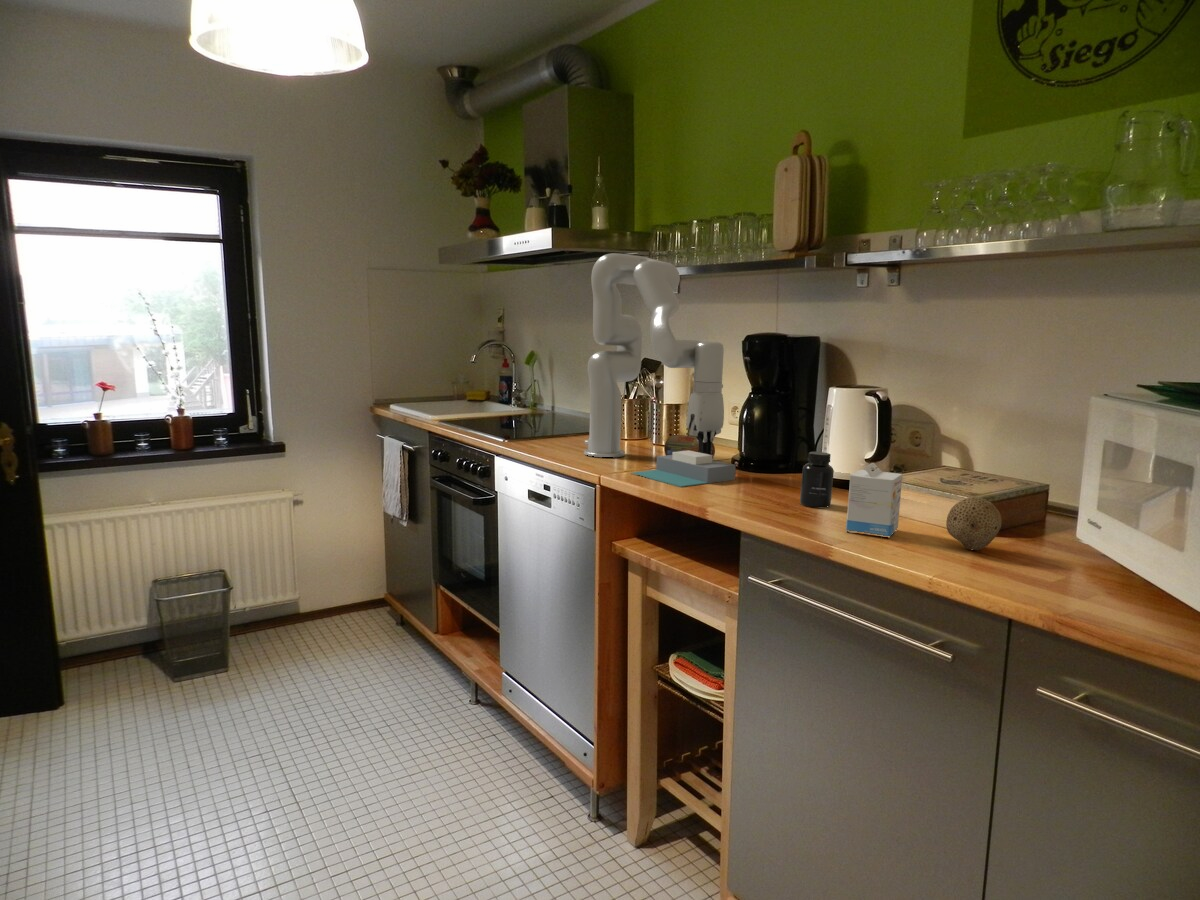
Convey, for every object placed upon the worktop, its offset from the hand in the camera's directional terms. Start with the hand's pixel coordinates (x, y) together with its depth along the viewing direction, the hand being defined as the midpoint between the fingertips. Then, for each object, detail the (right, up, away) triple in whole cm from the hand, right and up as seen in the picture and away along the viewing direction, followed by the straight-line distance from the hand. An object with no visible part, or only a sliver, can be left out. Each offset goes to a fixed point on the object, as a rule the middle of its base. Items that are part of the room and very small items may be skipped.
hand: (704, 456), depth 209 cm
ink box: (+26, -15, -55) cm, 62 cm away
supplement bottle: (+21, -11, -33) cm, 40 cm away
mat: (-10, -6, -7) cm, 14 cm away
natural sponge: (+40, -17, -67) cm, 80 cm away
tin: (-2, -3, +17) cm, 17 cm away
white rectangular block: (-4, -1, -2) cm, 5 cm away
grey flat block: (-3, -5, -1) cm, 6 cm away
